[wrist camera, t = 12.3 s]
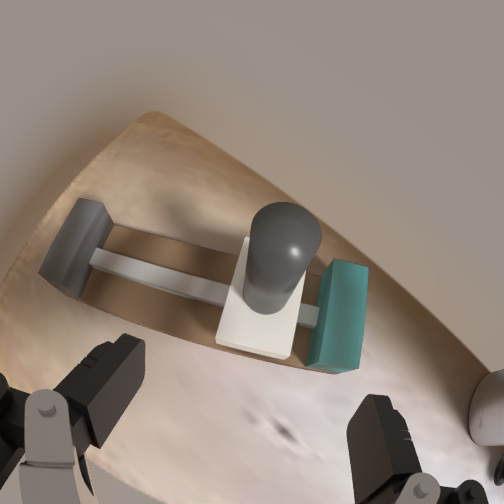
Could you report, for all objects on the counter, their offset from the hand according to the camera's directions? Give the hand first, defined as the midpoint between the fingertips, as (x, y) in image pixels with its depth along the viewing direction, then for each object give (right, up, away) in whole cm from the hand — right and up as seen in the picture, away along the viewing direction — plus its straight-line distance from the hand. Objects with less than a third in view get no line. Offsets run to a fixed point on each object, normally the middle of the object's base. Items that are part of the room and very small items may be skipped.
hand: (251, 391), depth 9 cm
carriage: (+1, +1, +13) cm, 13 cm away
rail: (-5, +1, +15) cm, 16 cm away
